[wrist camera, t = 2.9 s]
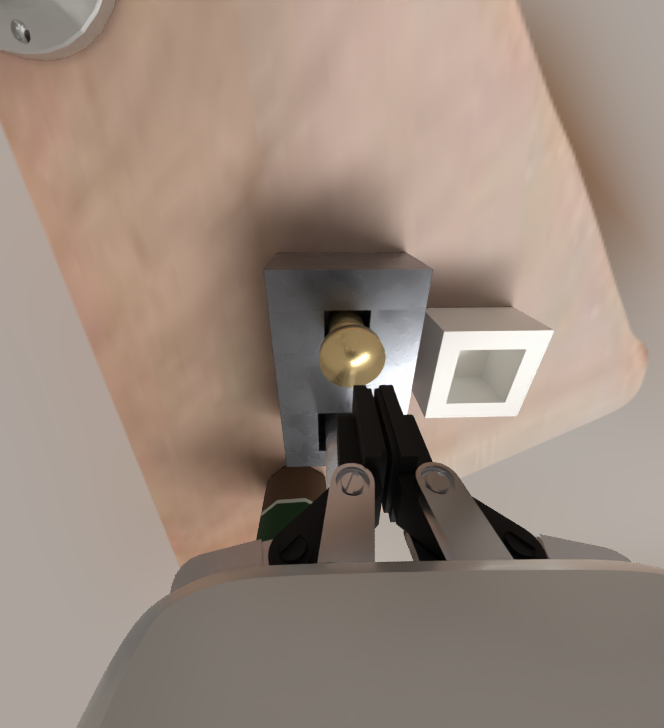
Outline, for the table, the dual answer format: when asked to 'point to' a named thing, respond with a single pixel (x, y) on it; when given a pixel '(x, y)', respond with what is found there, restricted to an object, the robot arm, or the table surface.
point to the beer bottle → (288, 498)
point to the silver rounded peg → (331, 444)
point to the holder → (477, 361)
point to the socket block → (310, 327)
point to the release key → (350, 350)
